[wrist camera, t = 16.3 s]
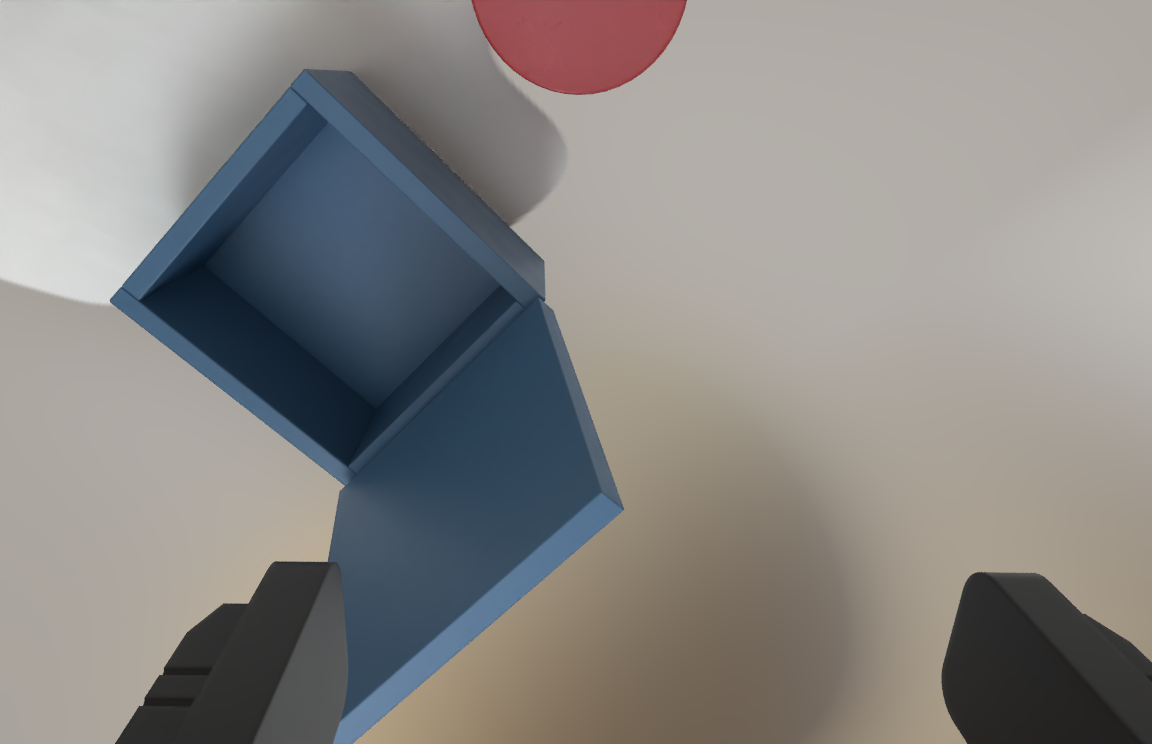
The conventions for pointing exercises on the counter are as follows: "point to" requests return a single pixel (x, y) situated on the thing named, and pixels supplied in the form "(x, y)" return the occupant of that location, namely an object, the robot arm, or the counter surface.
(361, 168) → the blue open square box
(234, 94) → the counter surface
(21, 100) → the counter surface
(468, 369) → the lid
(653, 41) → the can
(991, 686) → the robot arm
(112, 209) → the counter surface
